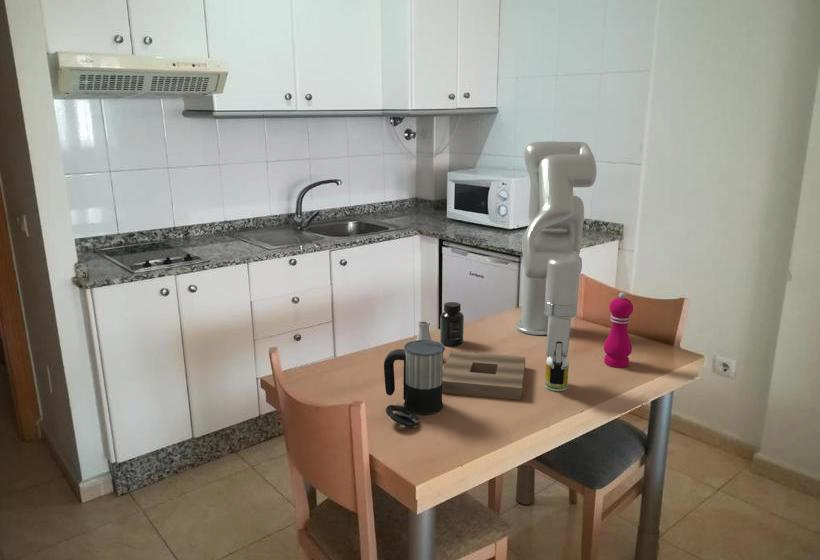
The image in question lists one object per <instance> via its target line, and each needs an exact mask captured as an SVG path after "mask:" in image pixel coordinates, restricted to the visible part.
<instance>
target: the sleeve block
mask: <svg viewBox="0 0 820 560" xmlns="http://www.w3.org/2000/svg"><path fill="white" fill-rule="evenodd" d="M526 359H527V357H526V356H519V355H507V354H495V353H482V352H481V353H480V352H468V351H456V350H455V351H454V350H451V351H450V353H449V355H448V357H447V359H446V362H445V364H444V365H443V372H442V394H443V393H446V394H455V395H468V396H475V397H487V398H498V399H499V398H500V399H509V400H519V401H521V400H522V398H523V397H522V396H523V388H524V379H525V371H526Z"/></svg>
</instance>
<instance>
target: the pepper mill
mask: <svg viewBox="0 0 820 560" xmlns="http://www.w3.org/2000/svg"><path fill="white" fill-rule="evenodd" d="M626 296H627V294H626V293H625V292H619V294H618V297H616V298H614V299H612V300H611V302H610V303H609V308H608V309H609V312H610V313H611V314H610V321H611V329H610V332H609V334H608V336H607V338H606V339H605V341H604V343H603V351H604V354H605V356H604V360H603V362H604V364H605V365H606V366H609V367H612V368H618V369H619V368H620V369H622V368H626V367H628V366H629V364H630V358H629V356H630V355H631V354H632V352H633V348H632V347H633V345H632V342H631V339H630V336H629V331H628V330H629V329H628V326H629V324H630V323H631V316H630V315H632V313H634V304H633V302H632V300H630V299H628V298H627V297H626Z"/></svg>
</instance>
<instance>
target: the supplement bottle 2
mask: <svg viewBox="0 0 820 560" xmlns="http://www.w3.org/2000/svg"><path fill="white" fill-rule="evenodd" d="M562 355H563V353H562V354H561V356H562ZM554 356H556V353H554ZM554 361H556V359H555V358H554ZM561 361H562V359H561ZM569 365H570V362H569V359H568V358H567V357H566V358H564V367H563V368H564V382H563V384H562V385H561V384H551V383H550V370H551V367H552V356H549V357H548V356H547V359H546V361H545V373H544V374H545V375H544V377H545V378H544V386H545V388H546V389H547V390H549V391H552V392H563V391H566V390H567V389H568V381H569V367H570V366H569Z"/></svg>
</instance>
